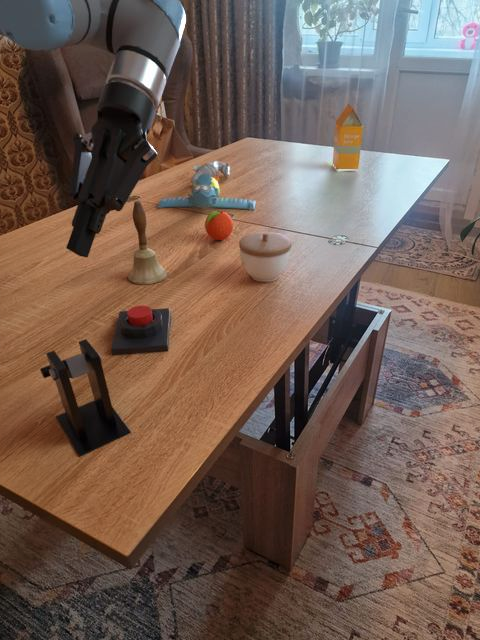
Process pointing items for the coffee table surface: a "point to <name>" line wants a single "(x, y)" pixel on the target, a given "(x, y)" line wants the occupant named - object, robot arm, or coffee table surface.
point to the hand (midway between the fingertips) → (77, 252)
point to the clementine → (219, 225)
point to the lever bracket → (87, 405)
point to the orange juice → (347, 140)
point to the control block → (142, 334)
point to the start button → (140, 315)
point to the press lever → (71, 367)
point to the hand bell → (144, 254)
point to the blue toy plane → (206, 196)
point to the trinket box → (265, 255)
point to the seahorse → (211, 169)
